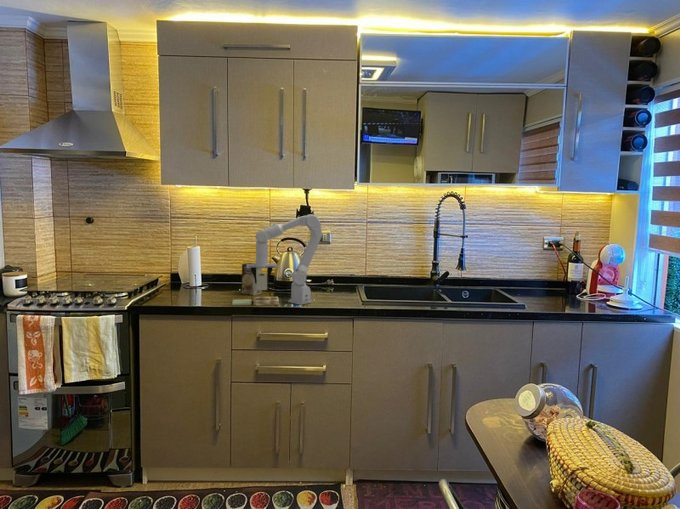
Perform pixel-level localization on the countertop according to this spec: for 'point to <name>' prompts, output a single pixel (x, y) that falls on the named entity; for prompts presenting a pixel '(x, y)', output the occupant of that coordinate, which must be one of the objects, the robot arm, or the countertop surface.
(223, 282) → the countertop surface
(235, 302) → the rubber pad
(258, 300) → the birch frame
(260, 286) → the knob-topped grey cube
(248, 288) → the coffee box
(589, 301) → the countertop surface
